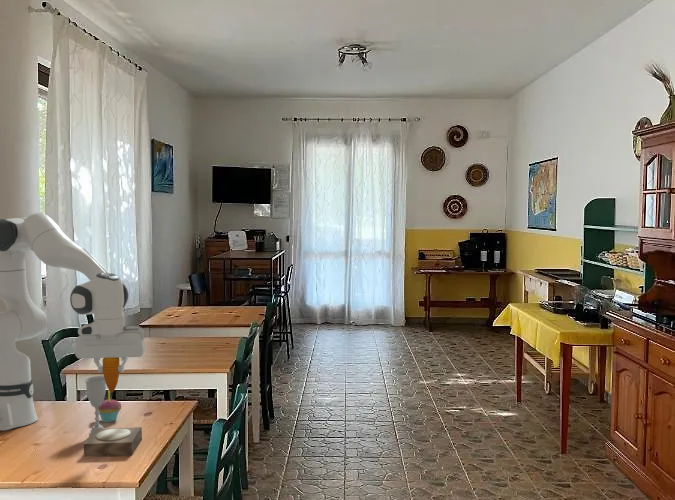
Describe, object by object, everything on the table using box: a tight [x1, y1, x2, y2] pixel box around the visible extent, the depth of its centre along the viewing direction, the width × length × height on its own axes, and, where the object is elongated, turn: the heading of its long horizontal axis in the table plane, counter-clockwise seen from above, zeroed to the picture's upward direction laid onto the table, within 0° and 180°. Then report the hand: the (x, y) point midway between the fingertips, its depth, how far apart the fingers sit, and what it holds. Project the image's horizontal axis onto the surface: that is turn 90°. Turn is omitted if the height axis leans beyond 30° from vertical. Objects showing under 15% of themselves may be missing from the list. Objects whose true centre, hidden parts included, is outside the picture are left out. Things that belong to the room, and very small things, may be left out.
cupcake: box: [98, 388, 122, 423], centre depth 241 cm, size 9×8×12 cm
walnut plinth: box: [83, 426, 143, 458], centre depth 213 cm, size 14×14×4 cm
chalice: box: [84, 375, 107, 436], centre depth 227 cm, size 7×7×18 cm
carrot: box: [101, 357, 120, 394], centre depth 212 cm, size 5×5×15 cm
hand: (111, 371), depth 212 cm, fingers closed on carrot, 4 cm apart
